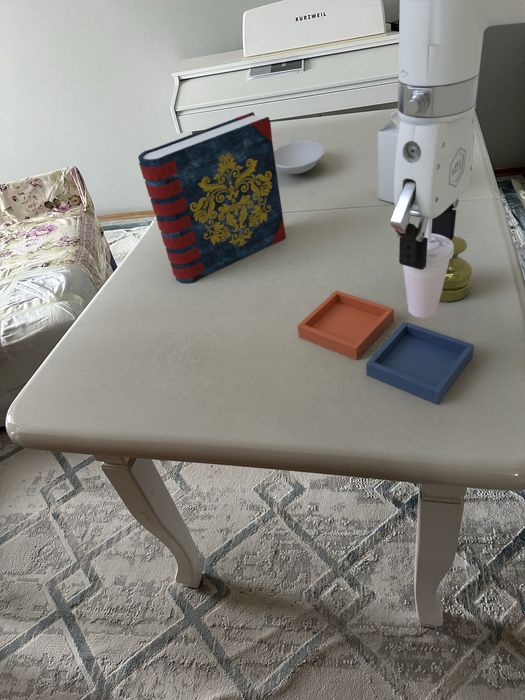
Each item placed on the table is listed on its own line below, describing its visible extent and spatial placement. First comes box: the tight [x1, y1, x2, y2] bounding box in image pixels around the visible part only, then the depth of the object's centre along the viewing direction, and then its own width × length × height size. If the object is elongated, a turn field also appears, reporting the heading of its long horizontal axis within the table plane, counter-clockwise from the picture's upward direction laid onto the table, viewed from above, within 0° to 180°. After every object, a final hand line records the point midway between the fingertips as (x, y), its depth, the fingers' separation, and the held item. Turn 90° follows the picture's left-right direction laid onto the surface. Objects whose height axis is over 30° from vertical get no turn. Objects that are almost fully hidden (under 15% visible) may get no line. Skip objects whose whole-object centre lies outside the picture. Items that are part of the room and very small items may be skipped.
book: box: [137, 111, 287, 284], centre depth 100 cm, size 25×7×25 cm, turn 123°
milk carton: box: [377, 110, 401, 204], centre depth 110 cm, size 7×7×19 cm
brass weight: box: [439, 235, 473, 303], centre depth 85 cm, size 7×7×10 cm
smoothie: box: [402, 219, 454, 319], centre depth 65 cm, size 6×6×14 cm
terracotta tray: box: [297, 289, 395, 361], centre depth 84 cm, size 11×11×2 cm
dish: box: [273, 139, 326, 175], centre depth 134 cm, size 18×14×5 cm
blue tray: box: [365, 321, 475, 405], centre depth 75 cm, size 11×11×2 cm
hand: (426, 250), depth 63 cm, fingers closed on smoothie, 6 cm apart
